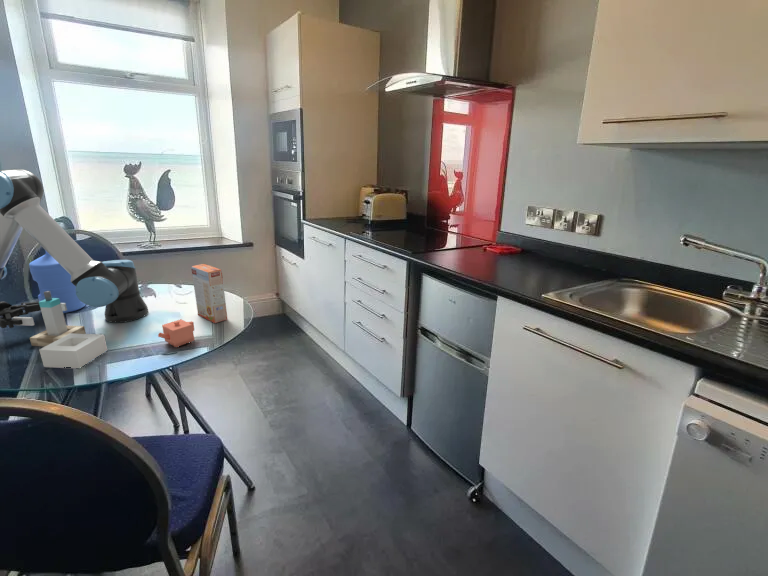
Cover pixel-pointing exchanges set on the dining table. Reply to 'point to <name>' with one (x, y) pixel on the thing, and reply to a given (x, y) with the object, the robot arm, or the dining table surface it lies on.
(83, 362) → the socket block
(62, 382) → the dining table surface
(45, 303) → the plug
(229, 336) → the dining table surface
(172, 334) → the pink cube teapot
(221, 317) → the cracker box
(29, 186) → the robot arm
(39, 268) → the water jug
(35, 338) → the beige flat square frame
